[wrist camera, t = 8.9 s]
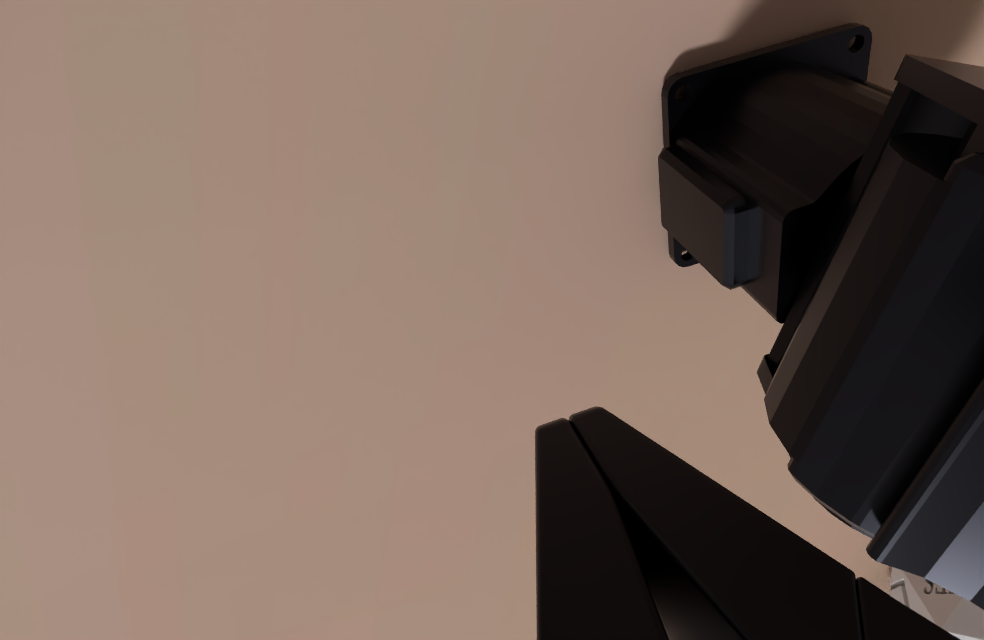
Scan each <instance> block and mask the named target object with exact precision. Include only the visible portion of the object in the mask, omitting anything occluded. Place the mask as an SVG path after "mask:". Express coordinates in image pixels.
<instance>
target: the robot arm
mask: <svg viewBox="0 0 984 640" xmlns="http://www.w3.org/2000/svg"><path fill="white" fill-rule="evenodd" d="M854 36H855V41H854V44H853V45H852V46H851V47H850V48H849V43H850V41H851V39H852V38H853V37H854ZM871 42H872V33H871V31H870V29H869V28H868V27H866V26H864V25H860V24H857V23H849V24H845V25H842V26H838V27H835V28H832V29H828V30H825V31H821V32H818V33H814V34H811V35H807V36H804V37H800V38H797V39H793V40H790V41H787V42H783V43H780V44H776V45H773V46H769V47H766V48H762V49H759V50H755V51H752V52H749V53H745V54H742V55H738V56H735V57H731V58H728V59H724V60H721V61H717V62H714V63H710V64H707V65H704V66H700V67H697V68H693V69H690V70H686V71H683V72H679V73H676V74H674V75H672V76H670V77H669V79H668V80H667V81H666V82H665V84H664V86H663V88H662V94H661V97H662V118H663V139H664V148H663V149H662V151H661V153H660V155H659V157H658V166H659V185H660V203H661V222H662V226H663V227H664V228H665V229H666V230H667V231H668V244H669V255H670V258H671V259H672V260H673V261H674V262H675V263H676V264H677V265H678V266H681V267H688V266H691V265H694V264H698V263H700V264H701V265H702V266H703V267H704V268H705V269H706V270H707V271H708V272H709V273H710V274H711V275H712V276H713V277H714V278H715V279H716V280H717V281H718V282H719V283H720V284H721V285H723V286H725V287H727V288H728V289H730V290H731V289H734V288H737V287H740V286H741V287H742V288H743V289H744V290H745V291H746V292H747V293H748V294H749V295H750V296H751V297H752V298H753V299H754V300H755V301H756V302H757V303H759V304H760V305H761V306H762V307H763V308H764V309H765V310H766V311H767V312H768V313H769V314H770V315H771V316H772V317H773V318H774V319H775V320H776V321H777V322H779V323H784V324H783V326H782V329H781V331H780V333H779V335H778V337H777V339H776V341H775V343H774V345H773V348H772V350H771V352H770V354H767V355H765V356H764V357H763V360H762V362H761V364H760V366H759V368H758V370H757V374H758V377H759V379H760V382H761V384H762V387H763V389H764V392H765V394H766V396H765V398H764V401H765V406H766V410H767V415H768V420H769V424H770V425H771V427H772V429H773V430H774V432H775V433H776V435H777V436H778V438H779V439H780V441H781V442H782V444H783V446H784V447H785V449H786V450H787V452H788V453H789V456H790V458H791V459H790V461H789V463H788V470H789V471H790V473H791V474H792V476H793V478H794V479H795V481H797V482H798V483H799V484H800V485H801V486H802V487H803V488H804V489H805V490H806V491H807V492H809V493H810V494H811V495H812V496H813V497H814V499H815V500H816V501H817V502H819V503H820V504H821V505H822V506H823V507H824V508H825V509H826V510H827V511H829V512H830V513H831V514H832V515H834V516H835V517H837V518H838V519H839V520H841V521H842V522H844V523H845V524H847V525H848V526H850V527H851V528H853V529H855V530H857V531H859V532H861V533H863V534H865V535H866V536H868V537H870V538H872V540H871V541H870V543H869V544H868V546H867V548H866V551H867V553H868V554H869V556H870V557H871V558H873V559H874V560H875V561H877V562H880V563H883V564H885V565H888V566H891V567H894V568H897V569H900V570H903V571H906V572H909V573H911V574H914V575H917V576H920V577H923V578H925V579H927V580H929V581H931V582H933V583H935V584H937V585H939V586H941V587H943V588H945V589H947V590H949V591H951V592H953V593H955V594H957V595H959V596H961V597H963V598H965V599H966V600H968V601H970V602H972V603H973V604H975V605H976V606H978V607H980V608H981V609H983V610H984V67H981V66H975V65H969V64H963V63H957V62H951V61H945V60H939V59H933V58H927V57H921V56H915V55H908V54H906V55H905V57H904V59H903V61H902V63H901V65H900V68H899V70H898V72H897V74H896V76H895V78H894V79H895V80H897V81H898V83H897V86H896V88H895V90H894V92H892V91H889V90H887V89H884V88H882V87H879V86H877V85H874V84H872V83H870V82H867V81H866V80H867V72H868V65H869V57H870V49H871ZM683 85H685V93H684V94H683V95H682V97H680V98H678V99H676V97H675V96H676V92H677V90H678V89H679V88H680V87H681V86H683ZM684 249H686V250H687V253H685V254H684V255H681V254H682V252H683V251H684ZM535 479H536V594H537V640H961V639H959V638H957V637H955V636H954V635H952V634H950V633H949V632H947V631H946V630H944V629H942V628H941V627H939V626H938V625H936V624H934V623H933V622H931V621H930V620H928V619H926V618H925V617H923V616H922V615H920V614H918V613H917V612H915V611H914V610H912V609H910V608H909V607H907V606H906V605H904V604H902V603H901V602H899V601H897V600H896V599H894V598H893V597H891V596H890V595H888V594H887V593H885V592H884V591H882V590H881V589H879V588H878V587H876V586H875V585H873V584H872V583H870V582H869V581H867V580H866V579H864V578H862V577H858V578H857V579H856V578H855V574H854V572H853V571H851V570H850V569H848V568H847V567H845V566H844V565H842V564H841V563H839V562H838V561H836V560H835V559H833V558H832V557H830V556H828V555H827V554H825V553H824V552H822V551H821V550H819V549H818V548H816V547H815V546H813V545H812V544H810V543H809V542H807V541H806V540H804V539H802V538H801V537H799V536H798V535H796V534H795V533H793V532H792V531H790V530H789V529H787V528H786V527H784V526H783V525H781V524H780V523H778V522H777V521H775V520H773V519H772V518H770V517H769V516H767V515H766V514H764V513H763V512H761V511H760V510H758V509H757V508H755V507H754V506H752V505H751V504H749V503H747V502H746V501H744V500H743V499H741V498H740V497H738V496H737V495H735V494H734V493H732V492H731V491H729V490H728V489H726V488H725V487H723V486H722V485H720V484H718V483H717V482H715V481H714V480H712V479H711V478H709V477H708V476H706V475H705V474H703V473H702V472H700V471H699V470H697V469H696V468H694V467H692V466H691V465H689V464H688V463H686V462H685V461H683V460H682V459H680V458H679V457H677V456H676V455H674V454H673V453H671V452H670V451H668V450H667V449H665V448H663V447H662V446H660V445H659V444H657V443H656V442H654V441H653V440H651V439H650V438H648V437H647V436H645V435H644V434H642V433H641V432H639V431H637V430H636V429H634V428H633V427H631V426H630V425H628V424H627V423H625V422H624V421H622V420H621V419H619V418H618V417H616V416H615V415H613V414H612V413H610V412H608V411H607V410H605V409H604V408H602V407H592V408H589V409H587V410H584V411H581V412H578V413H575V414H572V415H571V416H570V417H569V420H567V419H565V418H561V419H558V420H555V421H552V422H549V423H546V424H543V425H540V426H538V427H537V428H536V431H535Z"/></svg>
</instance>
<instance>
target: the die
mask: <svg viewBox="0 0 984 640" xmlns="http://www.w3.org/2000/svg"><path fill="white" fill-rule="evenodd" d="M890 585H891V589H890V596H891V597H893V598H894V599H896V600H897V601H899V602H901V603H902V604H904V605H906V606H907V607H909V608H910V609H912V610H914V611H915V612H917V613H918V614H920V615H922V616H923V617H925V618H926V619H928V620H930V621H931V622H933V623H934V624H936V625H938V626H939V627H941V628H942V629H944V630H946V631H947V632H949V633H950V634H952V635H954V636H955V637H957V638H959V639H961V640H984V610H983V609H981V608H980V607H978V606H976V605H975V604H973V603H972V602H970V601H968V600H966V599H965V598H963V597H961V596H959V595H957V594H955V593H953V592H951V591H949V590H947V589H945V588H943V587H941V586H939V585H937V584H935V583H933V582H931V581H929V580H927V579H925V578H923V577H920V576H917V575H914V574H911V573H909V572H906V571H903V570H900V569H897V568H894V567H892V571H891V583H890Z"/></svg>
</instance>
